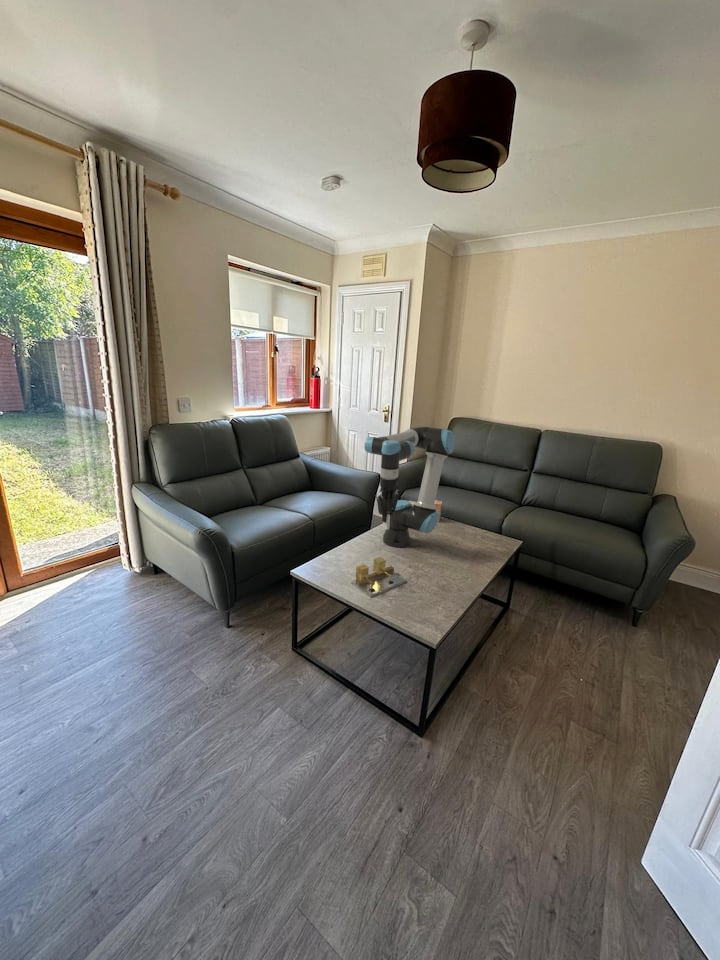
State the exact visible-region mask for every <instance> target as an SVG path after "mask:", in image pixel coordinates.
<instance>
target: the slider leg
mask: <svg viewBox="0 0 720 960" xmlns="http://www.w3.org/2000/svg"><path fill="white" fill-rule="evenodd" d="M386 562H387V561H386V559H385V558H383V557H382V556H378V557H375V558H373V565H372V567H373V569H372V571H373V573H374V572H375V573H377V574H381V573H383V572H384V573H385V574H387V575H388V576H389V581H388V582H390V577H392V575H390V574H389V573H387V572H386V571H385V568H386Z"/></svg>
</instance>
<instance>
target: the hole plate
mask: <svg viewBox="0 0 720 960" xmlns="http://www.w3.org/2000/svg"><path fill="white" fill-rule="evenodd" d="M389 574H390V575H392V577H390V582H388V581H389V576H388V575H384V576H382V577H379V578H377V579H374V580H372V582H373V583H375V584H374V585H373V589H371V583H370V582H367V583H364V584H362V585H359V586H358V585H357V584H356V579H354V580H352V581H351V584H352V585H353V586H355V588H357V589H358V590H360V591H361V592H362V593H364V594H365V595H366V596H368V597H369V598H372V597H375V596H377V595H379V594H382V593H384V592H387V591H389V590H390V589H393V588H395V587H398V586H400V585H402V584H405V583H406V582H407V579H405V578H404V577H402V576H400V575H398V574H397V573H395V571H394V572H392V573H389Z"/></svg>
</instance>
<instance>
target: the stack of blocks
mask: <svg viewBox="0 0 720 960" xmlns="http://www.w3.org/2000/svg"><path fill="white" fill-rule="evenodd" d="M408 501H409V502H410V503H411V506H414V503H416V502H417V501H413V500H408ZM434 506H435V508H436V513H438V521H437V523H440V521H441V515H442V509H443V508H442V507H443V501H441V500H437V499H435V502H434Z"/></svg>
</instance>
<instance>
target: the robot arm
mask: <svg viewBox="0 0 720 960" xmlns="http://www.w3.org/2000/svg"><path fill="white" fill-rule="evenodd" d="M455 444H456V439H455V434H454V433H453V431H451V430H449V429H445V428H438V427H437V428H436V427H429V426H417V427H413V428H412V427H411V428H408V429H405V430H404V431H402V432H399V433H393V434H388V435H385V436H379V437H377V436H376V437H375V436H368V437H367V438H366V439H365V441H364V445H363V446H364V450H365V452H366V453H369V454H372V455H378V456H381V461H380V462H381V464H380V479H379V486H380V489H379V493H378V494H375V495H374V496H375V498H376V502H377V509H378V514H379V515H381V516H382V517H381V518H382V520H381V522H382V528H383V529H385V531H384V534H383V535H382V536H383V537H382V542H383V543H384V544H385V545H387V546H388V547H393V548H404V547H405V548H406V547H408V546H409V545H410V544H411V535H410V531H409V530H410V529H411V530H414V531H417V532H420V533H424V534H430V533H432V532H433V531H434V530H435V528H436V527H437V523H438V522H437V521H438V513H436V508H435V506H434V502H435V500H436V497H437V493H438V488H439V484H440V480H441V475H442V471H443V466H444V462H445V460H446V459H447V458H449V457H448V456H449V454H453V452H454V450H455V446H456V445H455ZM415 448H418V449H423V450H425V452H424V453H425V454H426V456H427V457H426V461H425V467H424V471H423V475H422V479H421V484H420V490H419V494H418V498H417V501H415V502H416V503H414V506H411V503H410V502H409V501H410V500H405V499H399V496H400V494H401V493H402V492H401V490H399V489H398V485H399V484H398V483H399V478H398V477H399V469H400V462H401V461H403V460H404V461H405V460H406V459H410V457H412V456H413V455H414V454H415V453H414V452H415Z"/></svg>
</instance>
